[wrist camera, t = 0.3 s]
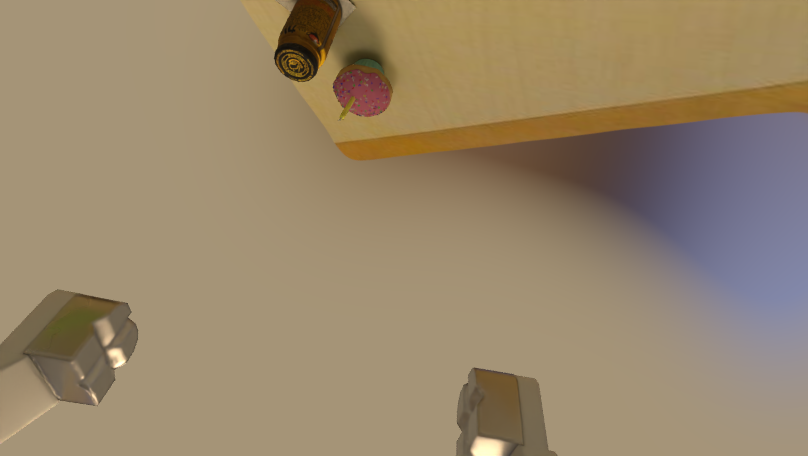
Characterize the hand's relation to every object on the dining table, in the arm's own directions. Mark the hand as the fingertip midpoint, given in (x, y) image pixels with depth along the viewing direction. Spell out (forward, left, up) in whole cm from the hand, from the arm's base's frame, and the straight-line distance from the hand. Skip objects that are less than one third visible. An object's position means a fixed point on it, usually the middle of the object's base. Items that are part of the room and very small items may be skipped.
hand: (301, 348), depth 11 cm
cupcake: (+31, +18, -52) cm, 63 cm away
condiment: (+29, +6, -52) cm, 60 cm away
